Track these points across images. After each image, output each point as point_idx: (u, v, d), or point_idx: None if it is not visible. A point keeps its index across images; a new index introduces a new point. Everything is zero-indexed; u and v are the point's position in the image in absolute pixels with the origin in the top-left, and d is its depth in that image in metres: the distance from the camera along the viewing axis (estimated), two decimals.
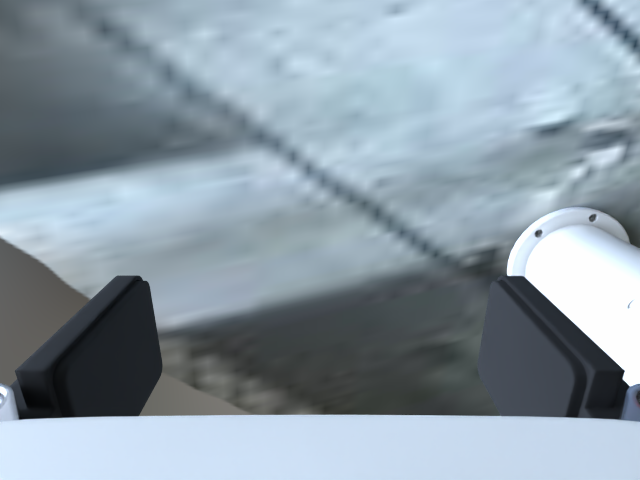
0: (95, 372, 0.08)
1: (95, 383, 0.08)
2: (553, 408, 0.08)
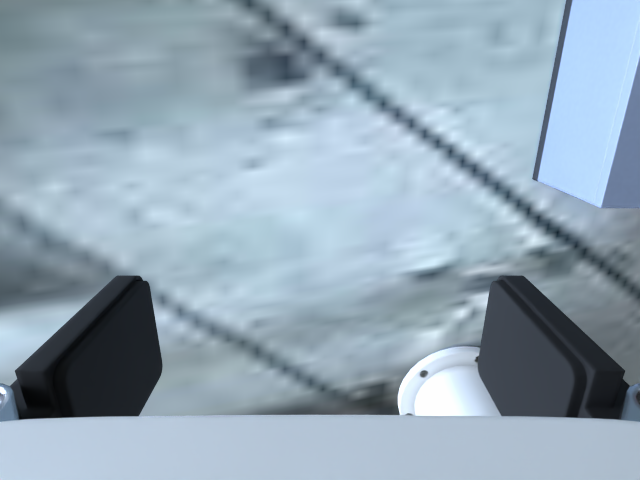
0: (95, 372, 0.08)
1: (95, 383, 0.08)
2: (553, 408, 0.08)
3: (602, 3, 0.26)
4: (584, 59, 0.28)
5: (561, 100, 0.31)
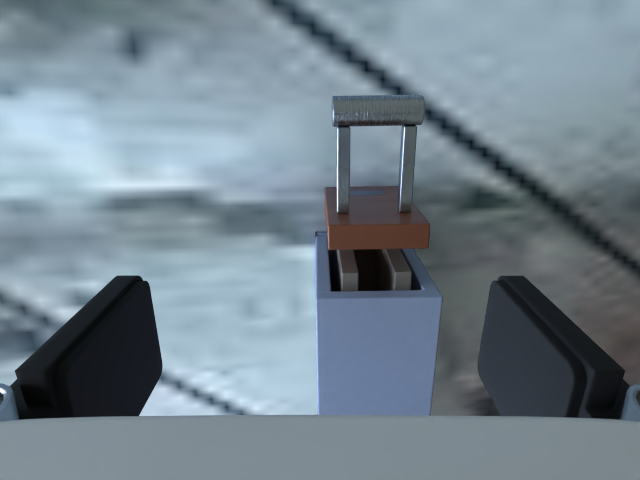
0: (95, 372, 0.08)
1: (95, 383, 0.08)
2: (553, 408, 0.08)
3: None
4: None
5: None
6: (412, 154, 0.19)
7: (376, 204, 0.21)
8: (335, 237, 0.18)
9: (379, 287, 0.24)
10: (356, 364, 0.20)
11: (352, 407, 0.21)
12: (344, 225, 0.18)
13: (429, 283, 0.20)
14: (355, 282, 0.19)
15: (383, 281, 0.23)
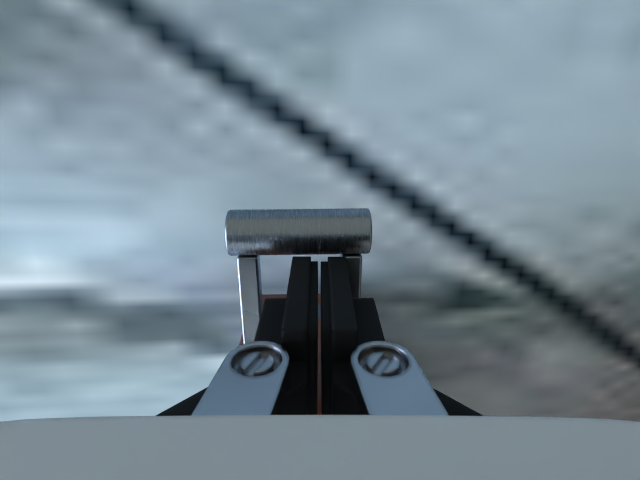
0: None
1: None
2: None
3: None
4: None
5: None
6: (356, 295, 0.12)
7: None
8: None
9: None
10: None
11: None
12: None
13: None
14: None
15: None
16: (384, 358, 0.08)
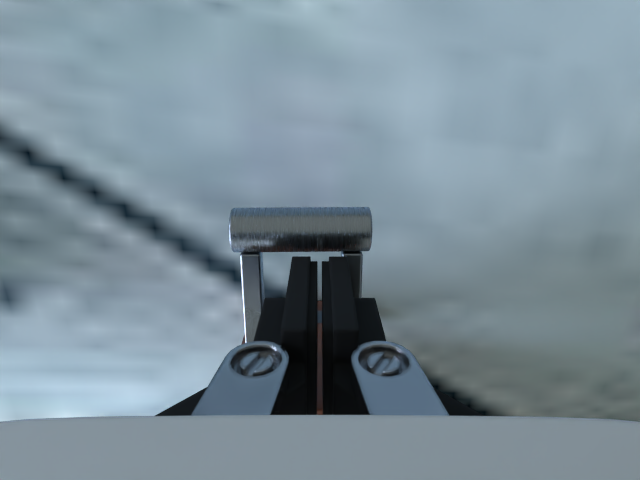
0: None
1: None
2: None
3: None
4: None
5: None
6: (357, 293, 0.12)
7: None
8: None
9: None
10: None
11: None
12: None
13: None
14: None
15: None
16: (385, 358, 0.08)
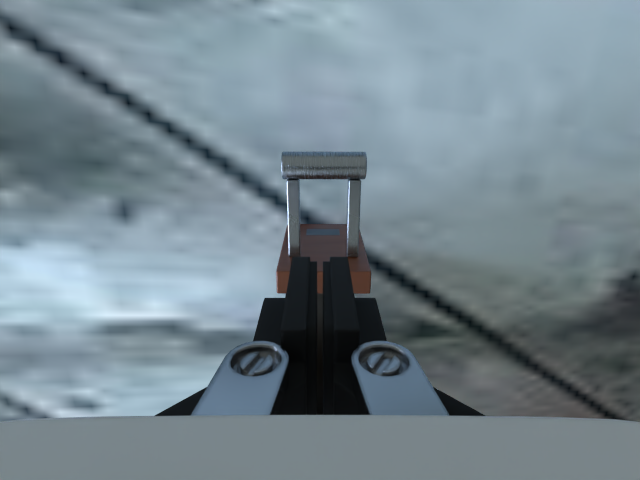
0: None
1: None
2: None
3: None
4: None
5: None
6: (357, 205, 0.20)
7: (329, 246, 0.23)
8: (283, 282, 0.20)
9: None
10: None
11: None
12: None
13: None
14: None
15: None
16: (385, 358, 0.08)
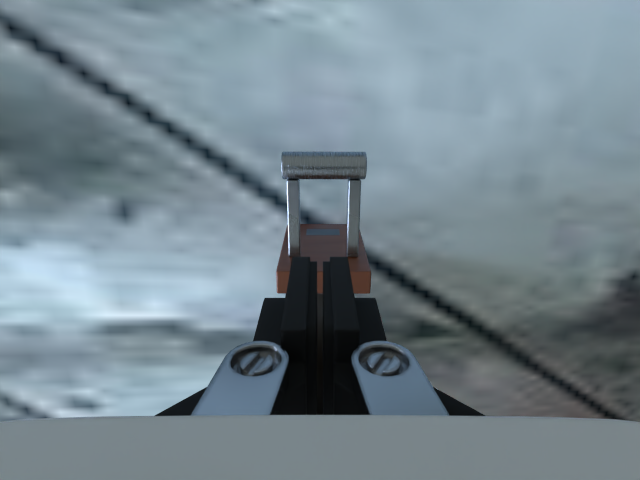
0: None
1: None
2: None
3: None
4: None
5: None
6: (357, 205, 0.20)
7: (329, 246, 0.23)
8: (283, 282, 0.20)
9: None
10: None
11: None
12: None
13: None
14: None
15: None
16: (385, 358, 0.08)
